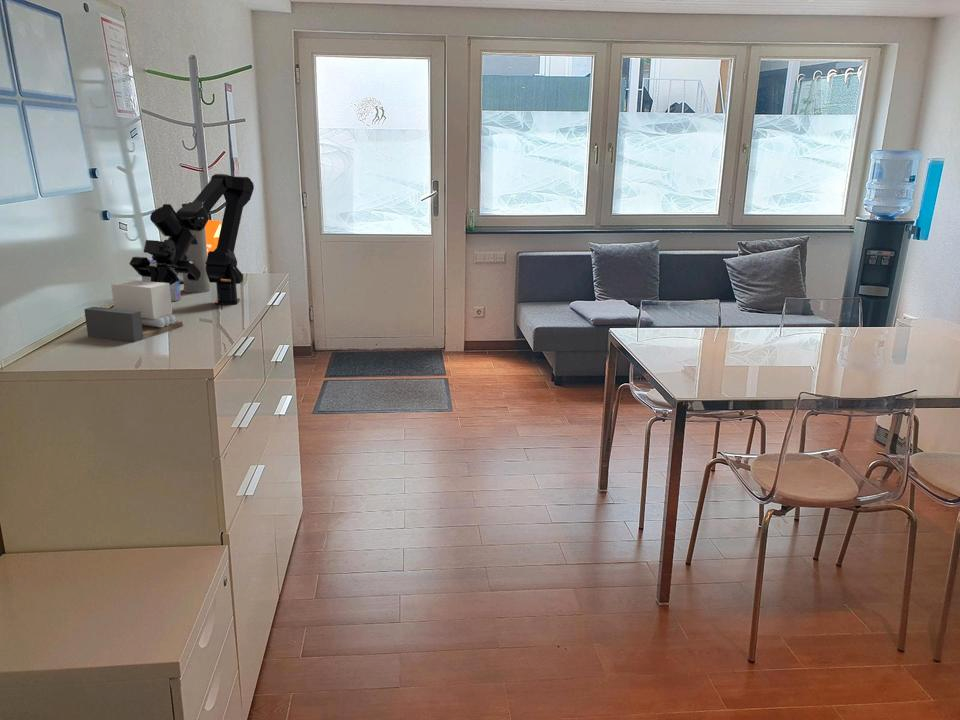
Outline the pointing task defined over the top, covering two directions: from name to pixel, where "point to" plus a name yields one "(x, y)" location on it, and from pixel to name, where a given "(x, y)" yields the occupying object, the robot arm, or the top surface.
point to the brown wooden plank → (159, 329)
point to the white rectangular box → (145, 301)
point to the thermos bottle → (197, 263)
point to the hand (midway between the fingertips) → (152, 294)
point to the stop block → (114, 324)
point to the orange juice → (212, 234)
